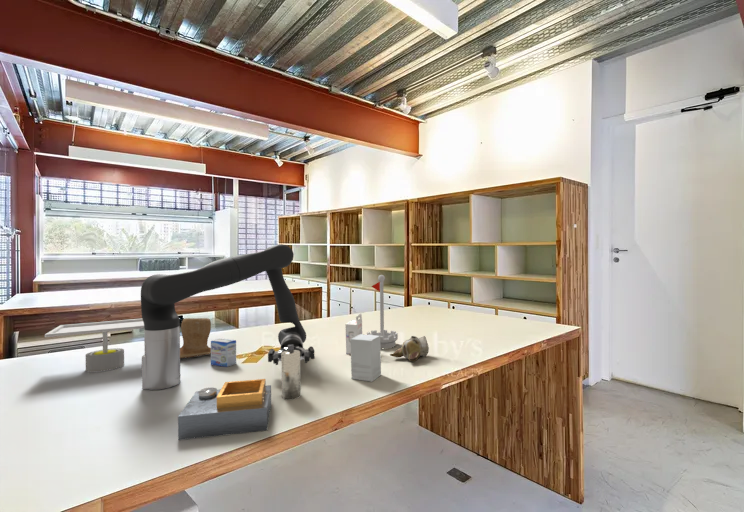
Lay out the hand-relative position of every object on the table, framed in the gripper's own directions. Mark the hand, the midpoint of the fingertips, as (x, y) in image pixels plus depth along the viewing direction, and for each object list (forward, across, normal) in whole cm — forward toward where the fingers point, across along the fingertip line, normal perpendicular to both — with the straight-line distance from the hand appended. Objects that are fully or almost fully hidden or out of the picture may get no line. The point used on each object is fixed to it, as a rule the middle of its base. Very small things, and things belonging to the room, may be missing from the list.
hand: (291, 360), depth 107 cm
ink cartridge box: (-31, +24, +7) cm, 40 cm away
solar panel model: (-32, -64, +7) cm, 72 cm away
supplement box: (-1, +23, +7) cm, 24 cm away
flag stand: (-37, +37, +7) cm, 53 cm away
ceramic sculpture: (-16, +44, +7) cm, 47 cm away
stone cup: (-40, -38, +7) cm, 56 cm away
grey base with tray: (+21, -14, +7) cm, 26 cm away
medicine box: (-26, -24, +7) cm, 36 cm away
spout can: (+9, 0, +7) cm, 12 cm away
